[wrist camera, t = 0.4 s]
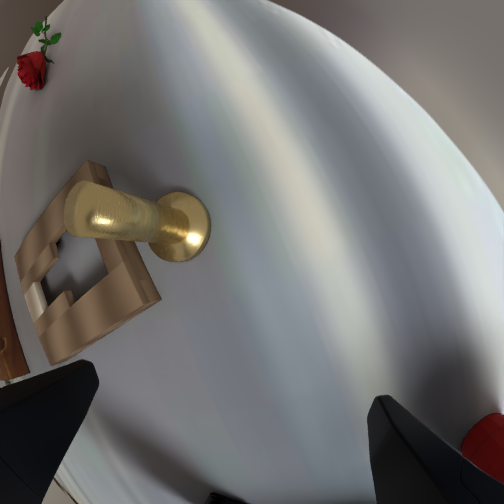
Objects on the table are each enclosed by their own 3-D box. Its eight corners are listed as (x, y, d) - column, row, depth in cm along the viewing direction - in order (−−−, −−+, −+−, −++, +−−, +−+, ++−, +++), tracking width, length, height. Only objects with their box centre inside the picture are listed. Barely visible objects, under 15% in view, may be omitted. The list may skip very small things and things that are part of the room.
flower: (22, 15, 22) (4, 83, 21) (57, -3, 25) (52, 54, 24) (30, 38, 31) (23, 111, 30) (63, 22, 34) (65, 87, 33)
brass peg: (199, 271, 22) (101, 282, 11) (145, 249, 23) (43, 245, 12) (220, 203, 21) (134, 160, 11) (163, 188, 23) (68, 150, 12)
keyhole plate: (105, 166, 24) (87, 159, 22) (161, 299, 22) (143, 304, 20) (29, 256, 28) (14, 256, 25) (67, 360, 26) (51, 366, 23)
